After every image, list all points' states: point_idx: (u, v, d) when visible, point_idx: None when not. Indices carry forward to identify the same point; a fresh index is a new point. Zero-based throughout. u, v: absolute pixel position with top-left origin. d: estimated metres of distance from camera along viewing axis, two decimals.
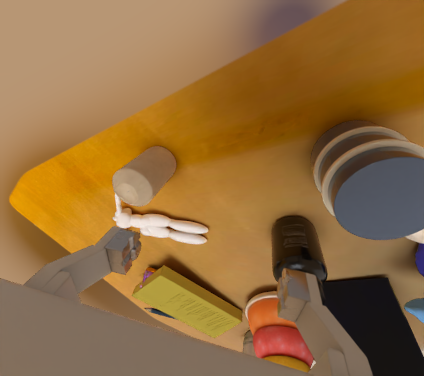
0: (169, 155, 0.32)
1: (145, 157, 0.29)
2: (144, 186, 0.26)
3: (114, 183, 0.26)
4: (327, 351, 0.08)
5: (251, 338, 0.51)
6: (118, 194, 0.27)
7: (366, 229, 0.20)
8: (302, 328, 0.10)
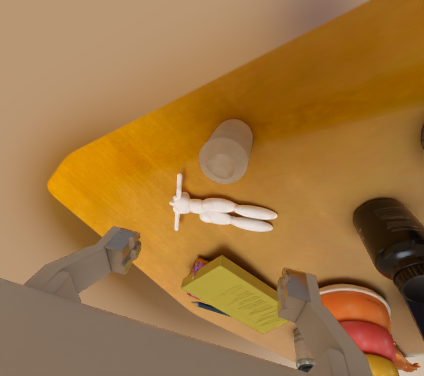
0: (249, 129, 0.29)
1: (232, 128, 0.25)
2: (242, 158, 0.22)
3: (205, 155, 0.23)
4: (327, 351, 0.08)
5: None
6: (209, 168, 0.23)
7: None
8: (302, 328, 0.10)
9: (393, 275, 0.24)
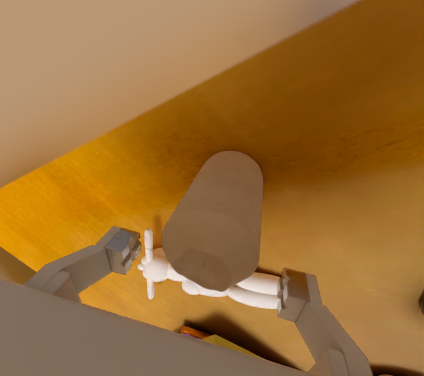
0: (257, 168, 0.17)
1: (227, 176, 0.13)
2: (247, 255, 0.11)
3: (170, 245, 0.11)
4: (327, 351, 0.08)
5: None
6: (179, 269, 0.11)
7: None
8: (302, 328, 0.10)
9: None
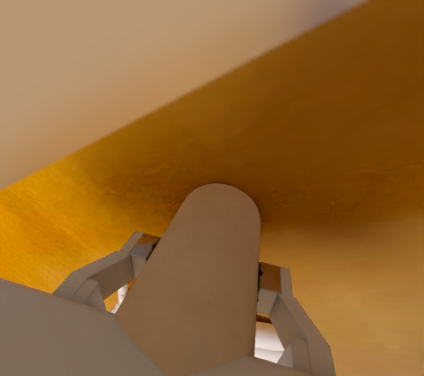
0: (252, 208, 0.13)
1: (209, 233, 0.10)
2: None
3: None
4: (291, 341, 0.08)
5: None
6: None
7: None
8: (274, 320, 0.10)
9: None
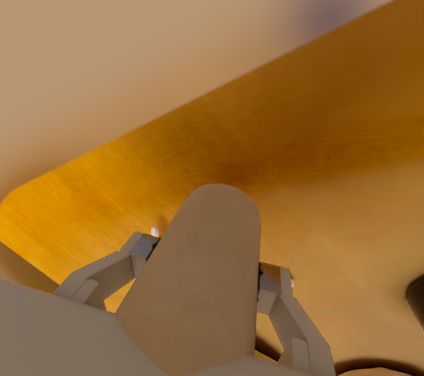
0: (252, 208, 0.13)
1: (209, 233, 0.10)
2: None
3: None
4: (291, 341, 0.08)
5: None
6: None
7: None
8: (274, 321, 0.10)
9: None
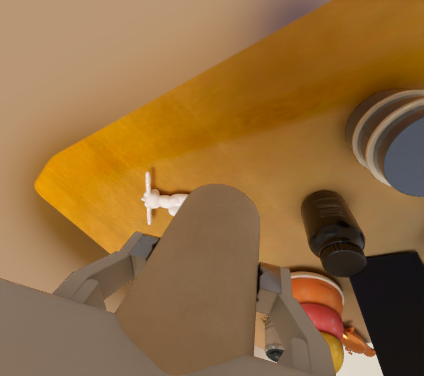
0: (252, 209, 0.13)
1: (208, 233, 0.10)
2: None
3: None
4: (291, 341, 0.08)
5: None
6: None
7: (414, 185, 0.21)
8: (274, 320, 0.10)
9: (319, 254, 0.28)
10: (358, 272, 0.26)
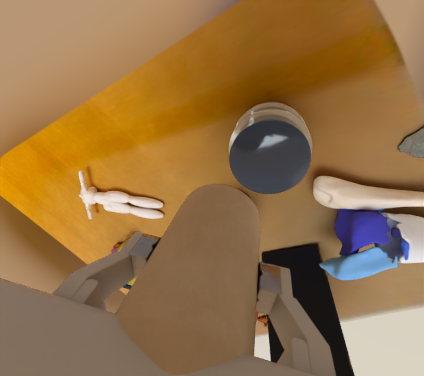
0: (252, 209, 0.13)
1: (209, 234, 0.10)
2: None
3: None
4: (291, 341, 0.08)
5: None
6: None
7: (258, 184, 0.25)
8: (274, 320, 0.10)
9: None
10: None
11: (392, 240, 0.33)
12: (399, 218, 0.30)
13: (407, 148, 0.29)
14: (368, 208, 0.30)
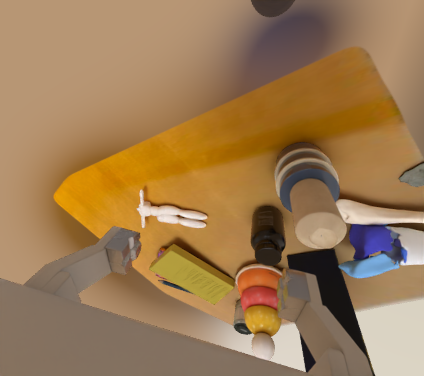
0: (328, 189, 0.30)
1: (322, 195, 0.27)
2: (343, 231, 0.24)
3: (307, 227, 0.25)
4: (327, 351, 0.08)
5: None
6: (309, 238, 0.25)
7: None
8: (302, 328, 0.10)
9: None
10: (277, 262, 0.40)
11: (395, 246, 0.43)
12: (400, 231, 0.40)
13: (406, 180, 0.39)
14: (376, 224, 0.40)
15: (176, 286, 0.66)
